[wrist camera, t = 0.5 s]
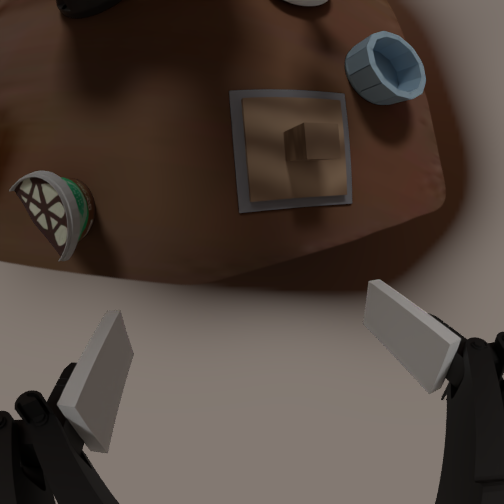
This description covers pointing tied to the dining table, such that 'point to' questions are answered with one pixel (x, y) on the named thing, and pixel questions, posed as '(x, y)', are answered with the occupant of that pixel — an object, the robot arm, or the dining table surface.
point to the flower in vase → (307, 2)
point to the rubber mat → (240, 152)
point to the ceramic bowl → (385, 69)
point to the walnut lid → (294, 147)
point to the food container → (57, 208)
